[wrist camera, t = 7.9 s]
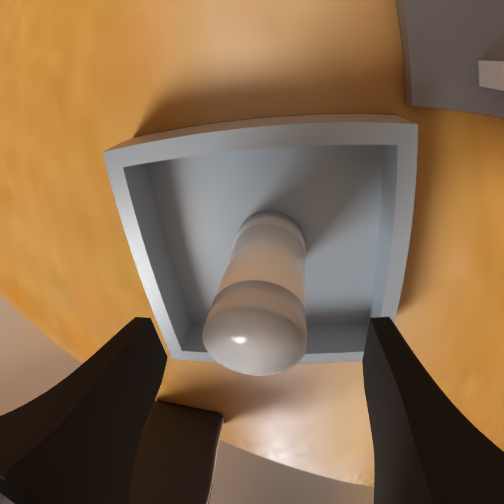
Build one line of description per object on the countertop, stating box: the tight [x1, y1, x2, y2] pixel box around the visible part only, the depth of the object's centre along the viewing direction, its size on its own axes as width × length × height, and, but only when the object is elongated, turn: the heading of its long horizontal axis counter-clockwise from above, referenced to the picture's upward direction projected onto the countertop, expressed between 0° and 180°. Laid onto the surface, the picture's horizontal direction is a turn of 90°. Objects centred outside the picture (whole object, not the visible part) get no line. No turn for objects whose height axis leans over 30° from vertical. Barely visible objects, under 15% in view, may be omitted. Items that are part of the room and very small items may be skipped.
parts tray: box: [103, 114, 418, 364], centre depth 14 cm, size 12×12×3 cm
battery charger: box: [128, 401, 224, 504], centre depth 21 cm, size 7×4×11 cm, turn 87°
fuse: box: [202, 211, 307, 376], centre depth 12 cm, size 3×3×6 cm
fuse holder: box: [396, 0, 504, 118], centre depth 7 cm, size 9×9×3 cm
